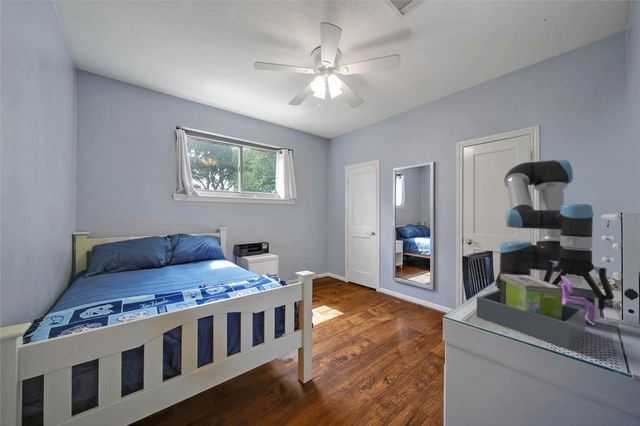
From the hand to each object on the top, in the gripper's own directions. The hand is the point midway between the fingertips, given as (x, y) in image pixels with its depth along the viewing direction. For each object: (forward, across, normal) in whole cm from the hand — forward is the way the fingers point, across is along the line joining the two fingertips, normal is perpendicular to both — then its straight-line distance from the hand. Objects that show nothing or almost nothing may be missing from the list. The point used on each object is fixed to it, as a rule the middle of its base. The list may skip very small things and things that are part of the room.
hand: (574, 312), depth 82 cm
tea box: (+3, -8, -18) cm, 20 cm away
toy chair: (+3, 0, 0) cm, 3 cm away
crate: (+3, -8, -18) cm, 20 cm away
